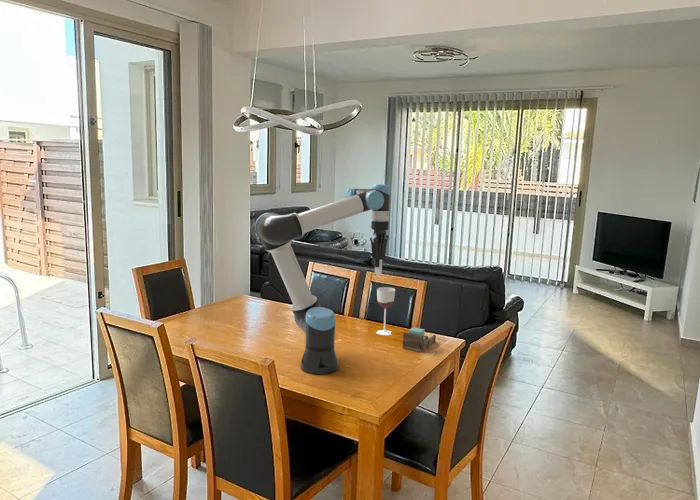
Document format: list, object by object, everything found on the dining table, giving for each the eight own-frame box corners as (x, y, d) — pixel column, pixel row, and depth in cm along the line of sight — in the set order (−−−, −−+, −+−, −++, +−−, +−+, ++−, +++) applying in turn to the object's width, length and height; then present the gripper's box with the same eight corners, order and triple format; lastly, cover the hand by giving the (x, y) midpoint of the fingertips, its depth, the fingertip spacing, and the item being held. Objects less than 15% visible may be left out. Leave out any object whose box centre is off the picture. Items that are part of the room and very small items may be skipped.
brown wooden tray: (420, 352, 226) (421, 336, 225) (402, 348, 231) (403, 333, 230) (435, 342, 241) (436, 327, 240) (418, 338, 245) (418, 324, 244)
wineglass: (372, 333, 251) (373, 289, 248) (380, 328, 259) (382, 286, 256) (388, 336, 247) (390, 292, 244) (396, 331, 255) (398, 288, 252)
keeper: (419, 347, 229) (420, 332, 228) (408, 344, 232) (408, 329, 231) (423, 344, 233) (424, 329, 232) (412, 341, 236) (413, 327, 235)
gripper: (380, 222, 212) (378, 277, 216) (394, 220, 223) (392, 272, 227) (365, 220, 216) (363, 275, 220) (379, 218, 227) (377, 270, 231)
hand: (378, 274), depth 223 cm, fingers closed
